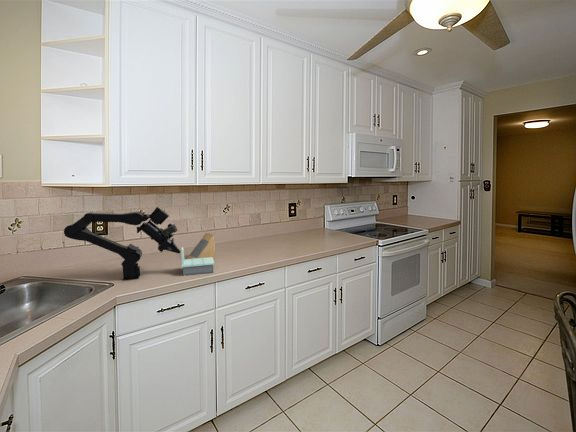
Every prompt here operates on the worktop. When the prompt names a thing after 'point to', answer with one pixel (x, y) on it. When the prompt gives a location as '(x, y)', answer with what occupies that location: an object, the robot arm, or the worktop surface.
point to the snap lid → (195, 261)
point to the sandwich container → (204, 248)
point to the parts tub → (197, 270)
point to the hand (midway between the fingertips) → (180, 252)
